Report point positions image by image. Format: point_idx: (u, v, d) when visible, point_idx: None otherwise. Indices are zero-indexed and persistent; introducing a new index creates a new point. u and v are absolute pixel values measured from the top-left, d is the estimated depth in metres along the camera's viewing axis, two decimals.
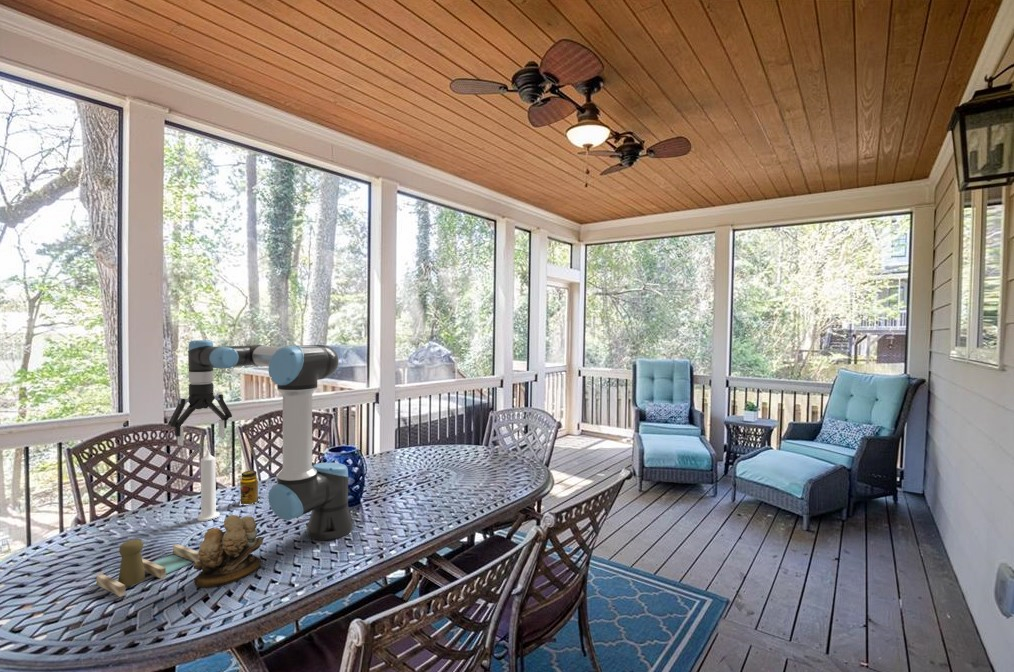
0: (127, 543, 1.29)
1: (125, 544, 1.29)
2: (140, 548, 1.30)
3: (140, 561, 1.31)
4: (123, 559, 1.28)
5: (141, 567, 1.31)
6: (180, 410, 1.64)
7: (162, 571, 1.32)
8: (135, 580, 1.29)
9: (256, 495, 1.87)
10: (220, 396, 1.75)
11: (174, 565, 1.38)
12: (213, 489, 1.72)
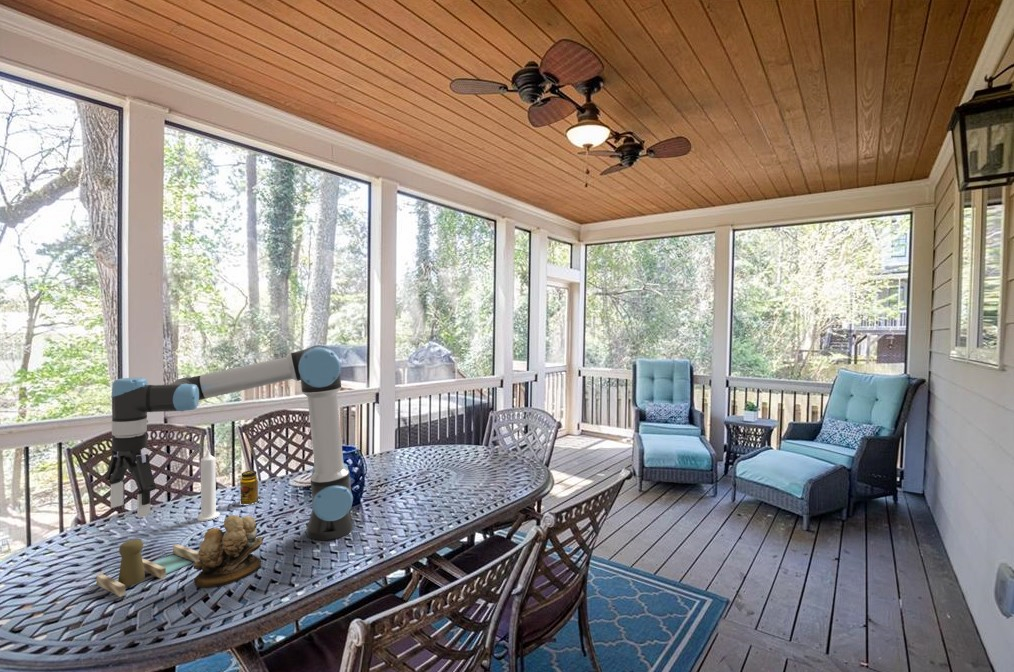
0: (127, 543, 1.29)
1: (125, 544, 1.29)
2: (140, 548, 1.30)
3: (140, 561, 1.31)
4: (123, 559, 1.28)
5: (141, 567, 1.31)
6: (111, 463, 1.32)
7: (162, 571, 1.32)
8: (135, 580, 1.29)
9: (256, 495, 1.87)
10: (136, 458, 1.26)
11: (174, 565, 1.38)
12: (213, 489, 1.72)
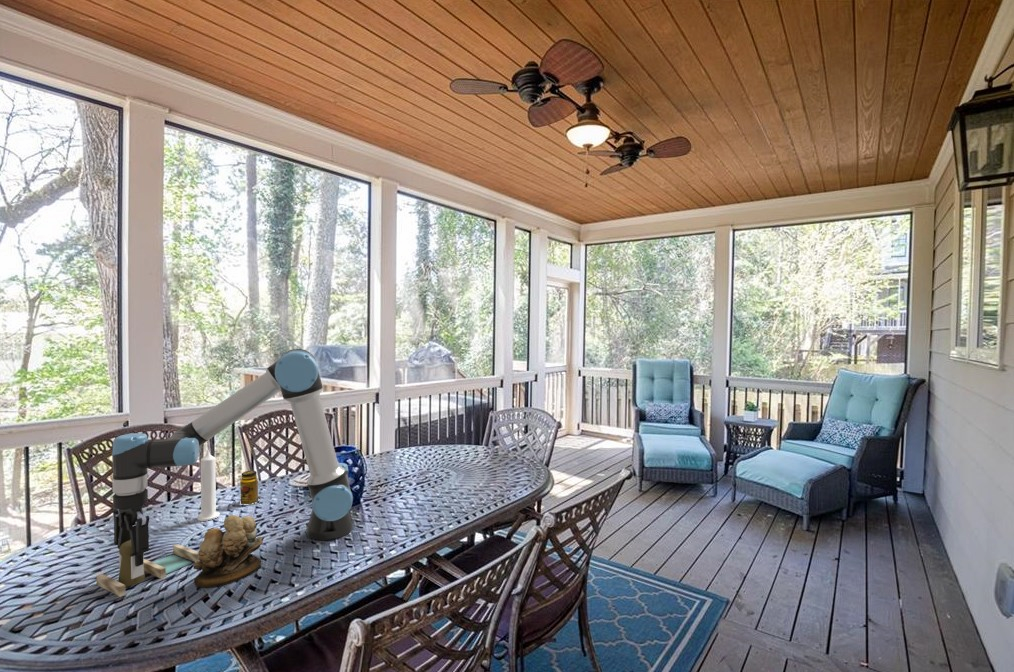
0: (127, 543, 1.29)
1: (125, 544, 1.29)
2: None
3: None
4: (123, 559, 1.28)
5: None
6: (115, 525, 1.31)
7: (162, 571, 1.32)
8: (135, 580, 1.29)
9: (256, 495, 1.87)
10: (137, 521, 1.26)
11: (174, 565, 1.38)
12: (213, 489, 1.72)
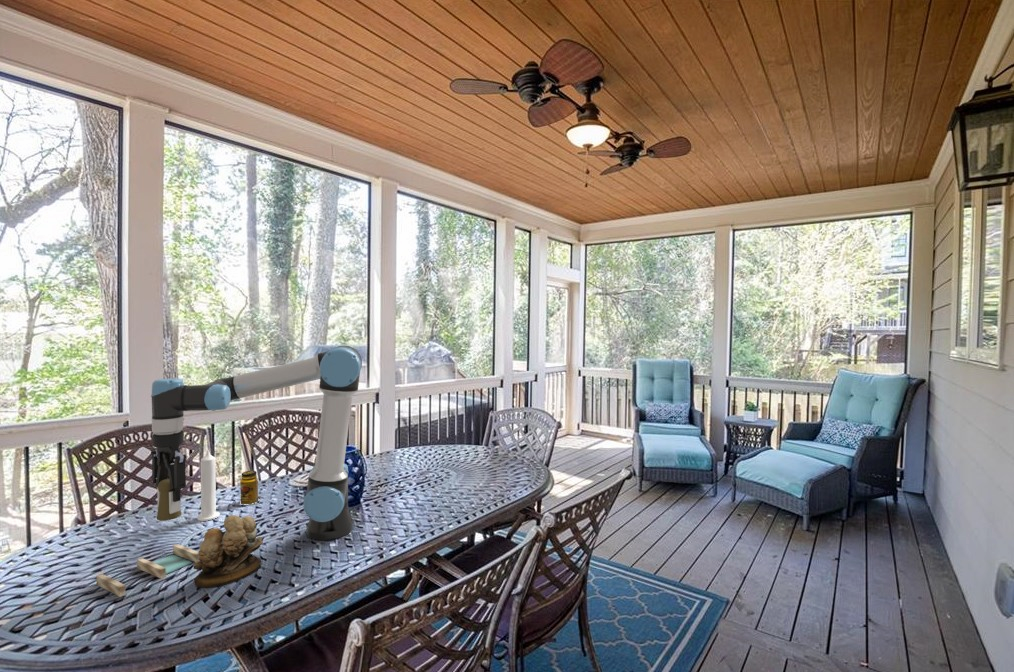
0: (165, 480, 1.37)
1: (163, 481, 1.37)
2: None
3: None
4: (161, 495, 1.37)
5: None
6: (153, 464, 1.40)
7: (162, 571, 1.32)
8: (173, 515, 1.37)
9: (256, 495, 1.87)
10: (175, 458, 1.35)
11: (174, 565, 1.38)
12: (213, 489, 1.72)
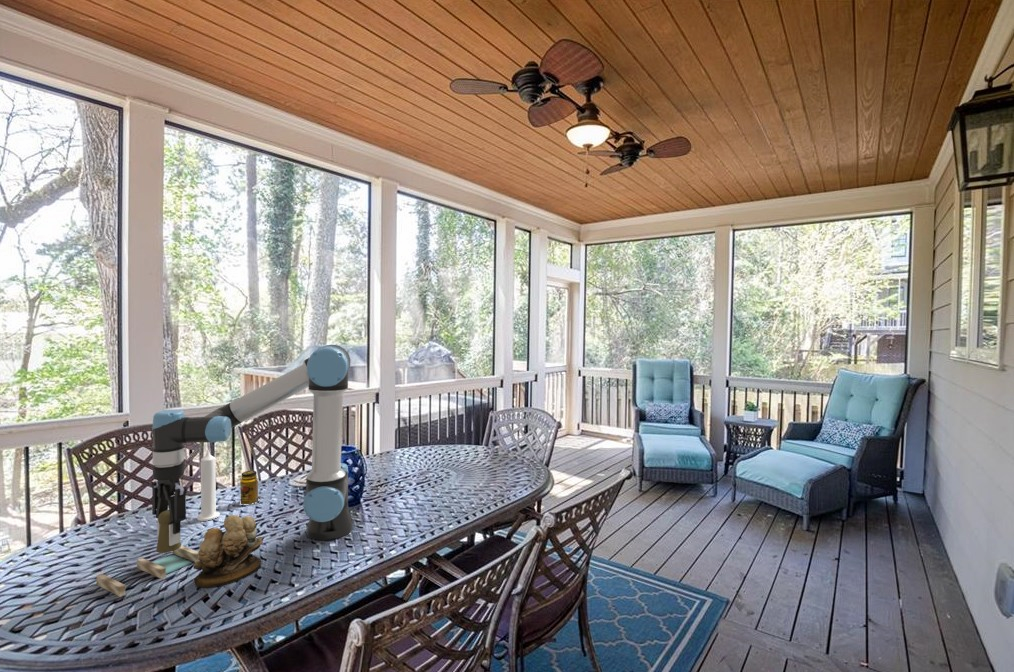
0: (165, 512, 1.38)
1: (163, 513, 1.38)
2: None
3: None
4: (161, 527, 1.37)
5: None
6: (153, 495, 1.40)
7: (162, 571, 1.32)
8: (173, 547, 1.38)
9: (256, 495, 1.87)
10: (175, 491, 1.35)
11: (174, 565, 1.38)
12: (213, 489, 1.72)
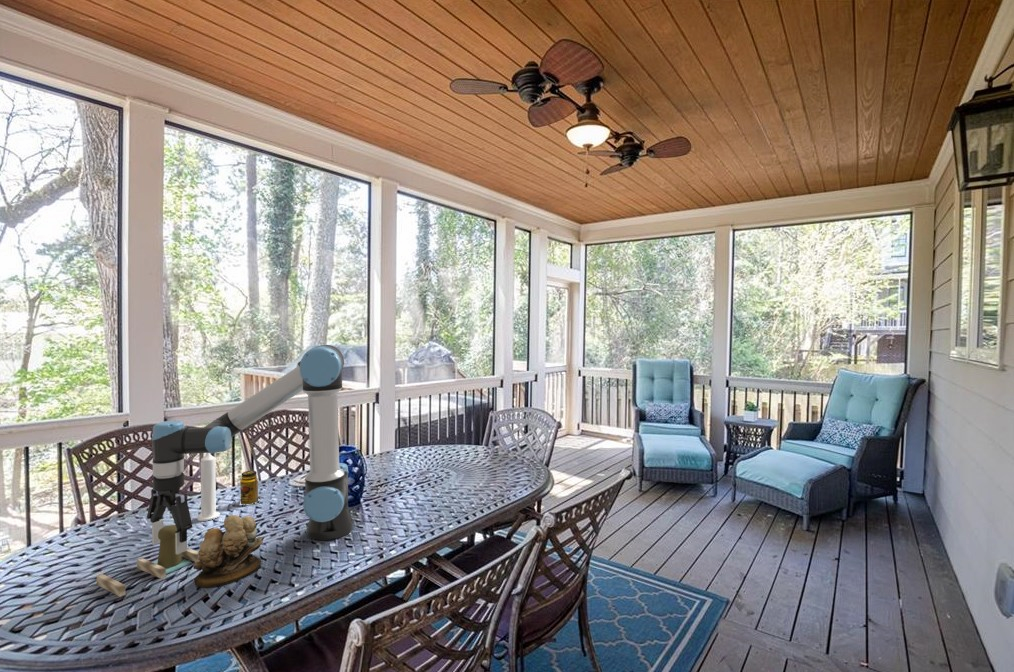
0: (165, 528, 1.38)
1: (163, 529, 1.38)
2: None
3: None
4: (162, 543, 1.37)
5: None
6: (151, 502, 1.41)
7: (162, 571, 1.32)
8: (173, 563, 1.38)
9: (256, 495, 1.87)
10: None
11: None
12: (213, 489, 1.72)
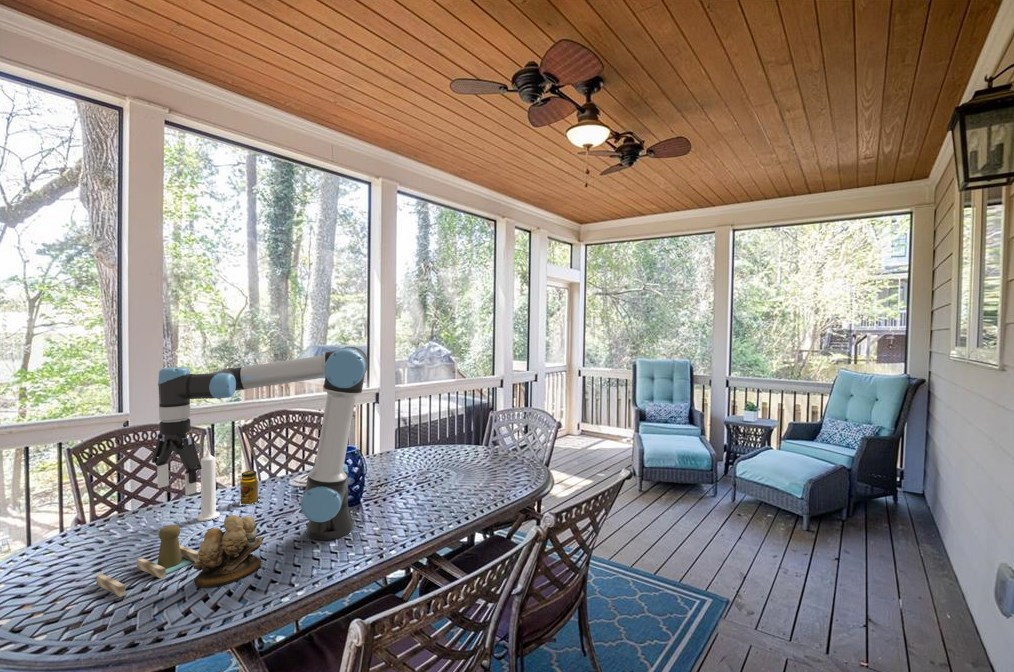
0: (166, 528, 1.38)
1: (164, 529, 1.38)
2: (178, 533, 1.39)
3: (178, 545, 1.40)
4: (162, 543, 1.37)
5: (178, 551, 1.40)
6: (157, 446, 1.42)
7: (162, 571, 1.32)
8: (173, 563, 1.38)
9: (256, 495, 1.87)
10: None
11: None
12: (213, 489, 1.72)
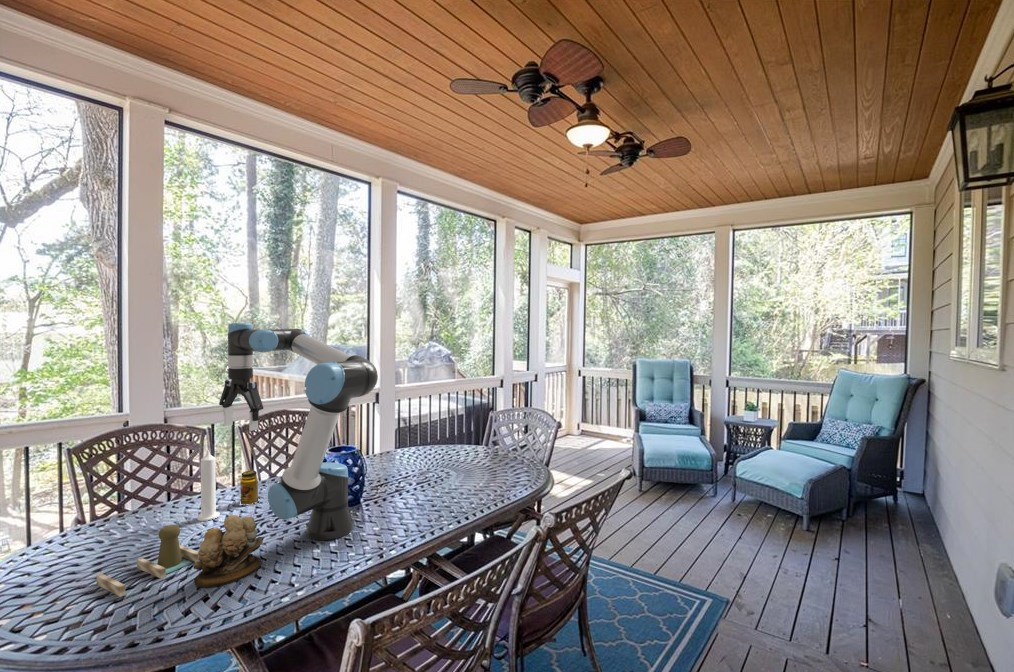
0: (166, 528, 1.38)
1: (164, 529, 1.38)
2: (178, 533, 1.39)
3: (177, 545, 1.40)
4: (162, 543, 1.37)
5: (178, 551, 1.40)
6: (224, 391, 1.66)
7: (162, 571, 1.32)
8: (173, 563, 1.38)
9: (256, 495, 1.87)
10: (248, 384, 1.60)
11: None
12: (213, 489, 1.72)
